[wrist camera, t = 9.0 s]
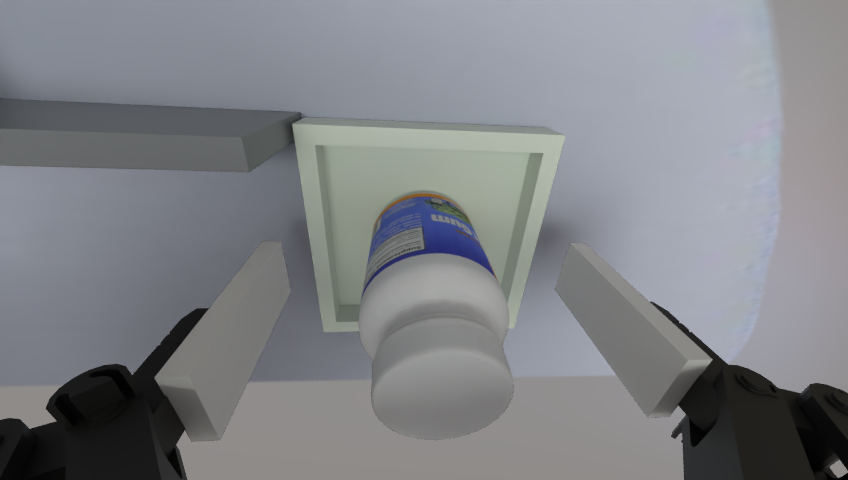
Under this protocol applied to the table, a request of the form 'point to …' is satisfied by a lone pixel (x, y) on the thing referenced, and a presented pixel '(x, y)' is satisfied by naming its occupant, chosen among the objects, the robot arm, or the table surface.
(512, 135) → the tray
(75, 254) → the table surface
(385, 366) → the pill bottle
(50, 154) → the bay
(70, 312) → the table surface
